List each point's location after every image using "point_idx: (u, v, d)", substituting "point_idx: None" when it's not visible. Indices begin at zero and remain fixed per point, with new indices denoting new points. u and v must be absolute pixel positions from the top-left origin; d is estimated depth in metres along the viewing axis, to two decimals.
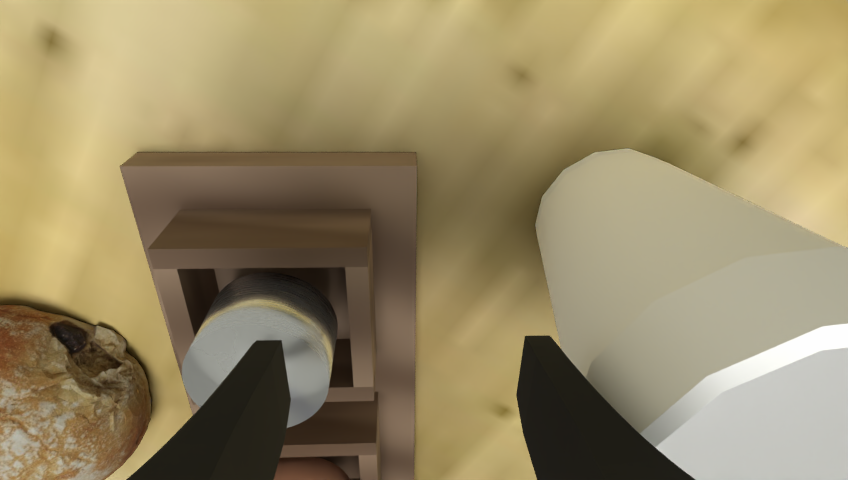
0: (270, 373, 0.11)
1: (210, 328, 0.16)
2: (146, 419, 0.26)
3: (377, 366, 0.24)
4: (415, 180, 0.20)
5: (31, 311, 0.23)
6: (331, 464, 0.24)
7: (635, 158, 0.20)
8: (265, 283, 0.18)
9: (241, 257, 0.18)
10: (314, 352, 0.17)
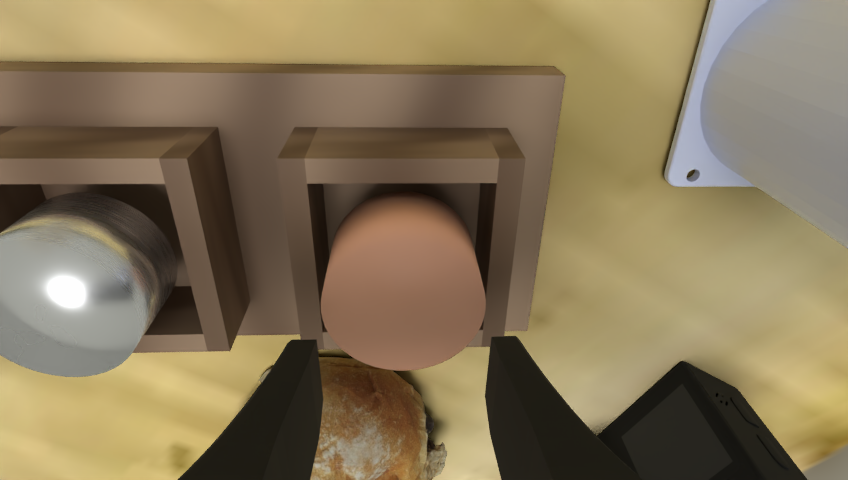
0: (308, 372, 0.11)
1: None
2: (367, 371, 0.24)
3: (245, 126, 0.18)
4: None
5: None
6: (346, 216, 0.17)
7: None
8: None
9: None
10: None
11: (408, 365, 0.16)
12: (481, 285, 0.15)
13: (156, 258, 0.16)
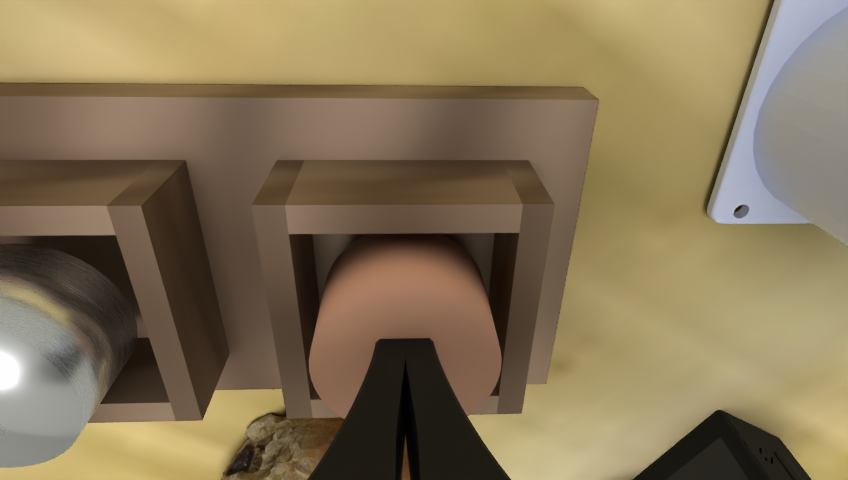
0: (404, 370, 0.11)
1: None
2: None
3: (218, 159, 0.15)
4: None
5: None
6: (340, 255, 0.14)
7: None
8: None
9: None
10: None
11: None
12: (496, 342, 0.13)
13: (107, 322, 0.13)
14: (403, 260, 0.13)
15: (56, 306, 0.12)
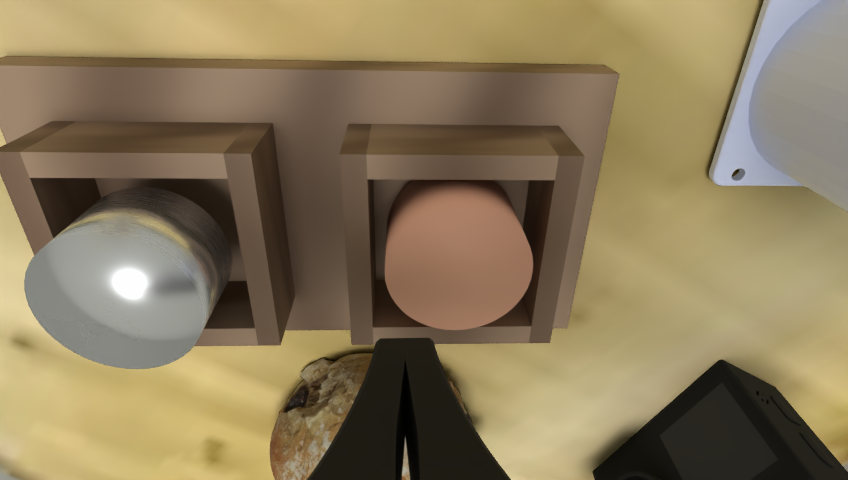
0: (404, 371, 0.11)
1: (60, 334, 0.15)
2: None
3: (299, 122, 0.18)
4: None
5: (279, 415, 0.26)
6: (402, 190, 0.18)
7: None
8: None
9: None
10: (47, 246, 0.14)
11: (459, 325, 0.18)
12: (530, 250, 0.16)
13: (216, 252, 0.16)
14: (457, 188, 0.17)
15: (182, 234, 0.15)
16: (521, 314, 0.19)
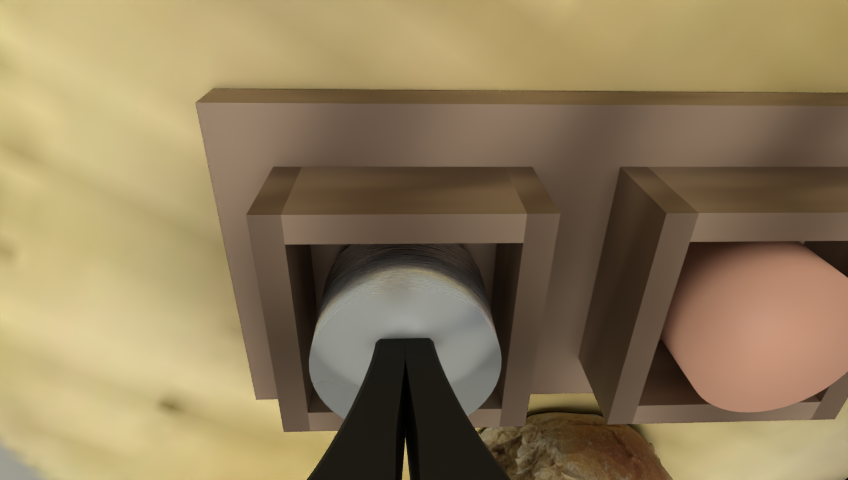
0: (404, 370, 0.11)
1: (327, 397, 0.14)
2: (611, 430, 0.21)
3: (563, 166, 0.15)
4: (218, 104, 0.14)
5: None
6: None
7: None
8: None
9: (284, 354, 0.14)
10: (351, 304, 0.12)
11: (756, 407, 0.15)
12: None
13: None
14: (779, 247, 0.14)
15: (472, 284, 0.13)
16: None
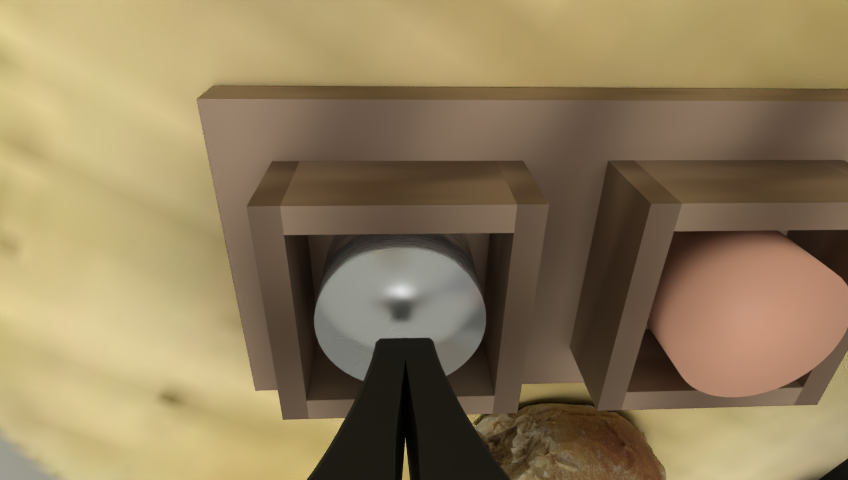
0: (404, 370, 0.11)
1: (329, 352, 0.15)
2: (604, 420, 0.22)
3: (553, 160, 0.15)
4: (218, 100, 0.14)
5: None
6: None
7: None
8: None
9: (283, 343, 0.15)
10: (352, 264, 0.13)
11: (740, 392, 0.15)
12: None
13: None
14: (760, 237, 0.14)
15: (460, 250, 0.15)
16: None
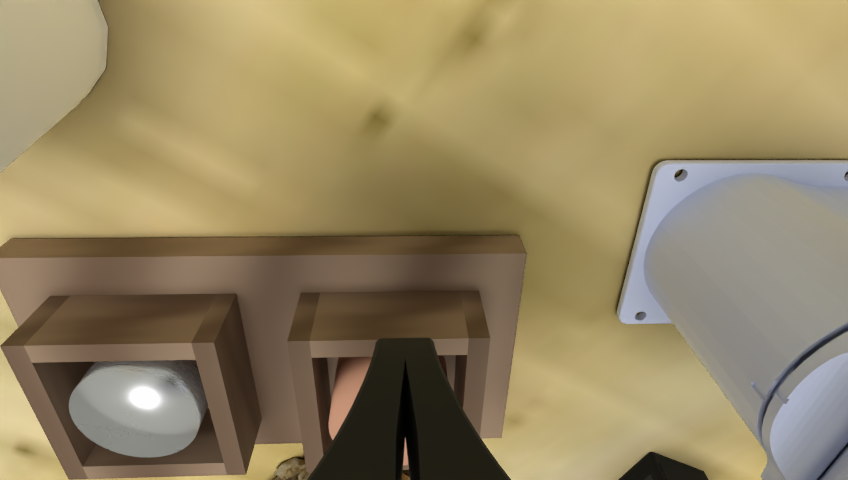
0: (404, 370, 0.11)
1: (92, 434, 0.21)
2: None
3: (259, 293, 0.21)
4: (1, 259, 0.20)
5: None
6: None
7: None
8: None
9: (53, 429, 0.20)
10: (86, 380, 0.19)
11: None
12: None
13: None
14: None
15: (183, 361, 0.21)
16: None
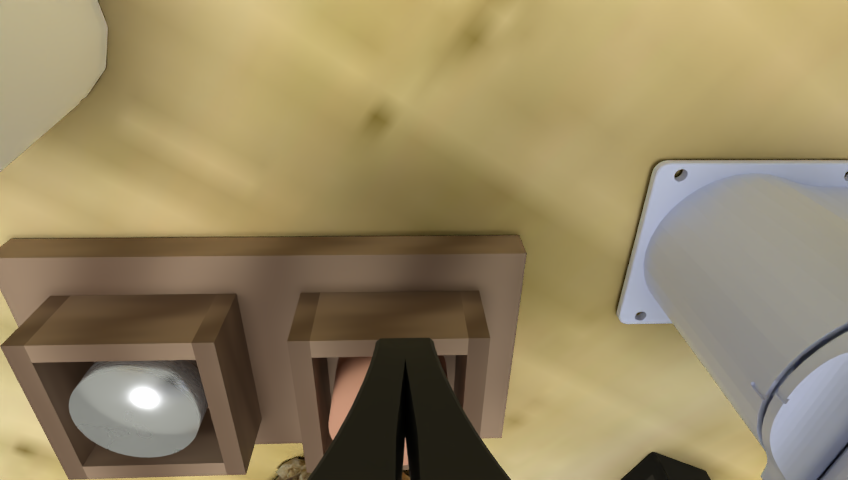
0: (404, 370, 0.11)
1: (92, 434, 0.21)
2: None
3: (259, 293, 0.21)
4: (1, 259, 0.20)
5: None
6: None
7: None
8: None
9: (53, 429, 0.20)
10: (86, 380, 0.19)
11: None
12: None
13: None
14: None
15: (183, 361, 0.21)
16: None
